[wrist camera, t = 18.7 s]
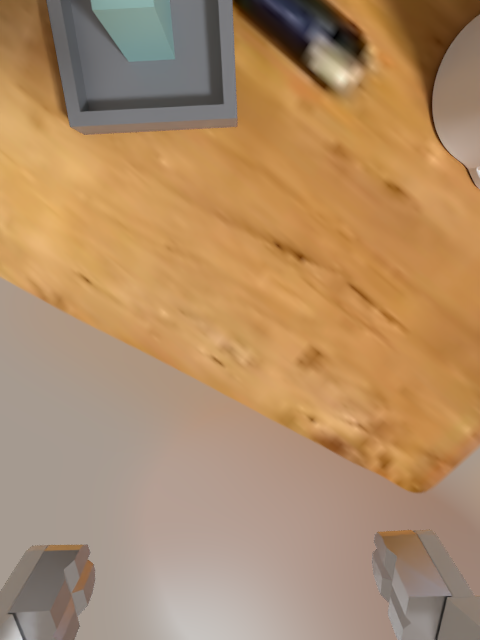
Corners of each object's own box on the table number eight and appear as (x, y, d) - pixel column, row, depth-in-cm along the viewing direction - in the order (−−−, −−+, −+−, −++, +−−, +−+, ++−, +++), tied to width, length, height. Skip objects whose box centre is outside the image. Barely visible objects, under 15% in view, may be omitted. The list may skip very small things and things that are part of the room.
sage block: (169, 0, 29) (145, -77, 21) (175, 59, 30) (154, 6, 23) (120, 3, 29) (79, -73, 21) (128, 61, 30) (92, 10, 23)
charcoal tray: (228, -80, 28) (227, -113, 25) (237, 126, 33) (237, 118, 30) (48, -69, 28) (27, -102, 25) (84, 134, 33) (70, 126, 30)
